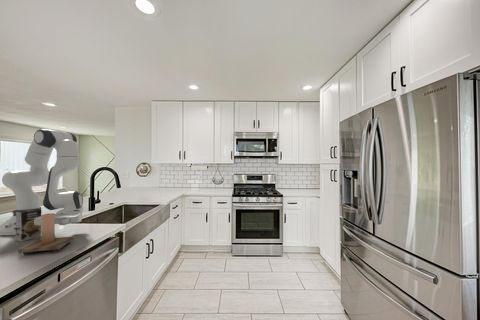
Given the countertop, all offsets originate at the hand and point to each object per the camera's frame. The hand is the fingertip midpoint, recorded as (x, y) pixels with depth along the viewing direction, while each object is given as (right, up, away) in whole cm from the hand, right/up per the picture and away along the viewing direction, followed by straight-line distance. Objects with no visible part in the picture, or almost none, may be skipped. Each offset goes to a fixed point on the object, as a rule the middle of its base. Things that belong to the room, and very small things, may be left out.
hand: (50, 223), depth 111 cm
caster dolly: (+1, -12, -3) cm, 13 cm away
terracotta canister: (+1, -9, -3) cm, 9 cm away
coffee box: (-24, -13, +13) cm, 30 cm away
